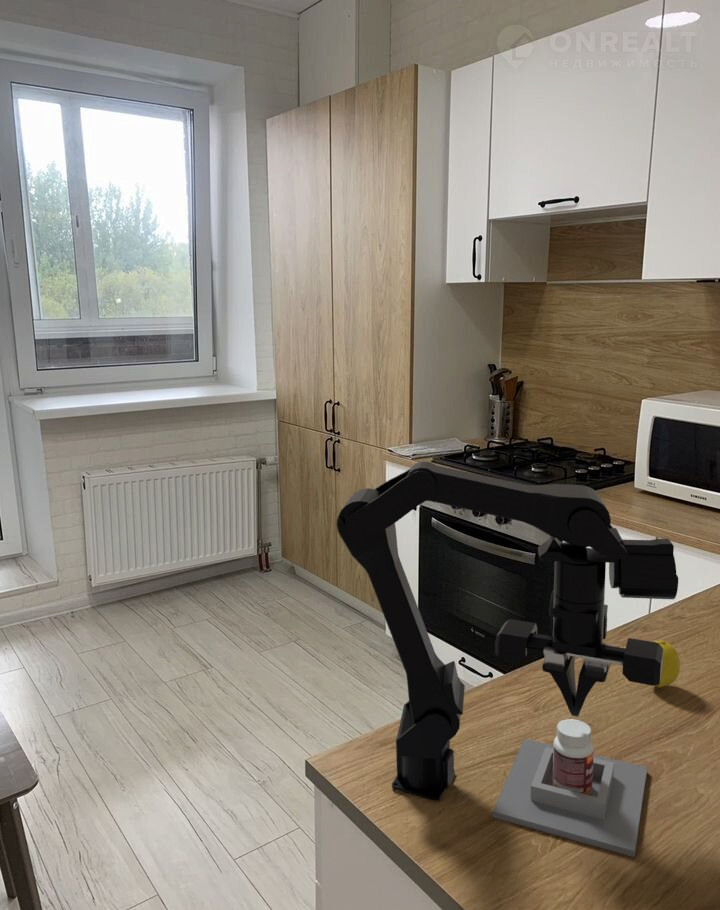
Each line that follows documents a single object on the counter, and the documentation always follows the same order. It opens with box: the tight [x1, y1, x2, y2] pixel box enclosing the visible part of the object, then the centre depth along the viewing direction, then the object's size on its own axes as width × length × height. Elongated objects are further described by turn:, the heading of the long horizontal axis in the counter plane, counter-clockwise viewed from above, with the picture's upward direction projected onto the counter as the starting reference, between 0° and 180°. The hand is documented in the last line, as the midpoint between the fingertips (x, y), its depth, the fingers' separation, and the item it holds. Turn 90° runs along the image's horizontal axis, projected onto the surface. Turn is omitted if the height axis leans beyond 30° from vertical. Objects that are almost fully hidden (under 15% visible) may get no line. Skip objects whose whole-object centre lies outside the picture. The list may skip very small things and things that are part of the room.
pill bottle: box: [552, 718, 595, 795], centre depth 89 cm, size 5×5×8 cm
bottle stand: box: [492, 738, 648, 858], centre depth 90 cm, size 16×16×3 cm
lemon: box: [654, 639, 681, 689], centre depth 113 cm, size 6×6×8 cm
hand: (575, 714), depth 88 cm, fingers closed
